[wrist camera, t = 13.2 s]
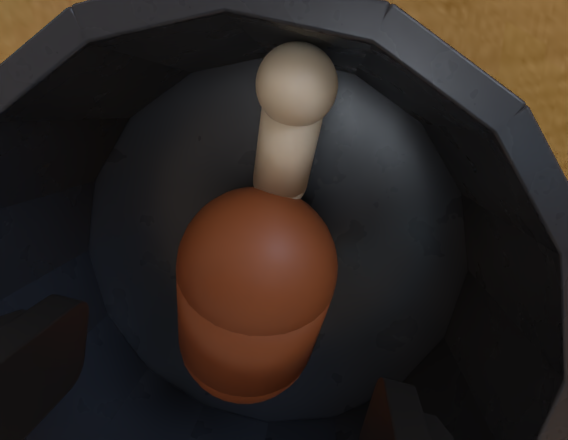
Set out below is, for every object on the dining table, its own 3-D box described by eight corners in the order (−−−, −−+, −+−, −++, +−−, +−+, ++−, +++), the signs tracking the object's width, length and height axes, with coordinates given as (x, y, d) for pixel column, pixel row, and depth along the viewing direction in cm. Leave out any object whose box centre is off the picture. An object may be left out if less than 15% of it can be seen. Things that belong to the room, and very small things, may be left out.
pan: (548, 92, 15) (752, 75, 8) (412, 466, 19) (460, 678, 12) (99, -4, 16) (-98, -102, 9) (65, 375, 20) (-84, 523, 13)
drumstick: (219, 8, 11) (117, 87, 7) (408, 54, 10) (400, 161, 7) (207, 300, 19) (157, 403, 15) (312, 331, 18) (285, 445, 15)
